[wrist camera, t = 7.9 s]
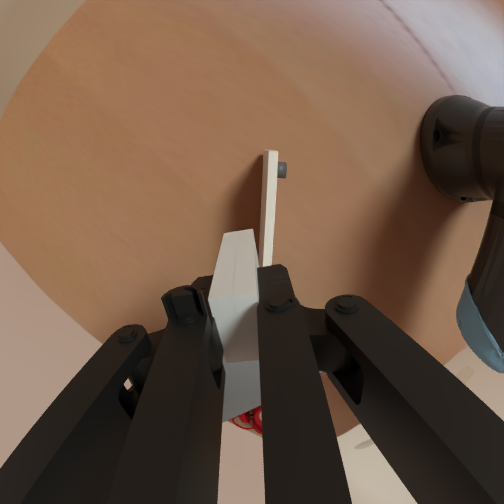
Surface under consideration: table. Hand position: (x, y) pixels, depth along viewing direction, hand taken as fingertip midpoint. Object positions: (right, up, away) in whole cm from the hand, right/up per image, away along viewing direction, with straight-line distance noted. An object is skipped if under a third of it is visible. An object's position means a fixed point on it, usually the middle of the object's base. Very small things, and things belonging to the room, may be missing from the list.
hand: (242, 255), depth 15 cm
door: (+2, +5, +18) cm, 19 cm away
